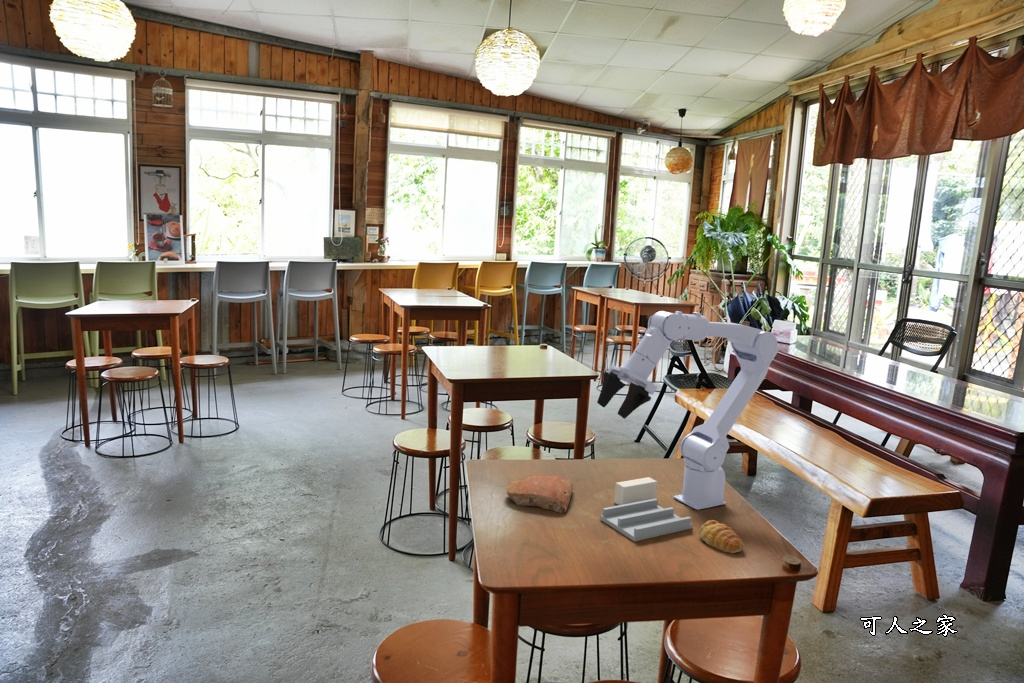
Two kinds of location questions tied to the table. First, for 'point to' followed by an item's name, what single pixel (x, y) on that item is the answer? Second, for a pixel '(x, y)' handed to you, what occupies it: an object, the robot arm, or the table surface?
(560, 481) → the ceramic shard
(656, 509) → the grey ridged tray
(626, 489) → the white rectangular block
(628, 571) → the table surface
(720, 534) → the pastry
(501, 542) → the table surface
